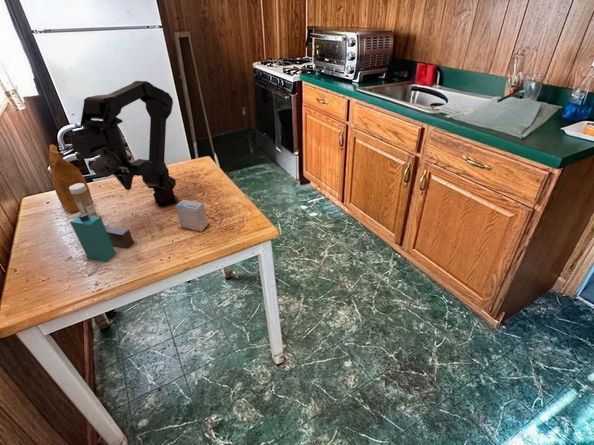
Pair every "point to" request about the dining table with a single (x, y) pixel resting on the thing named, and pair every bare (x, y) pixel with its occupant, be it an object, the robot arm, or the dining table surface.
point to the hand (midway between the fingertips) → (128, 189)
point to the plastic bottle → (93, 237)
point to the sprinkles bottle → (82, 199)
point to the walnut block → (119, 236)
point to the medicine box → (192, 215)
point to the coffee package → (65, 179)
